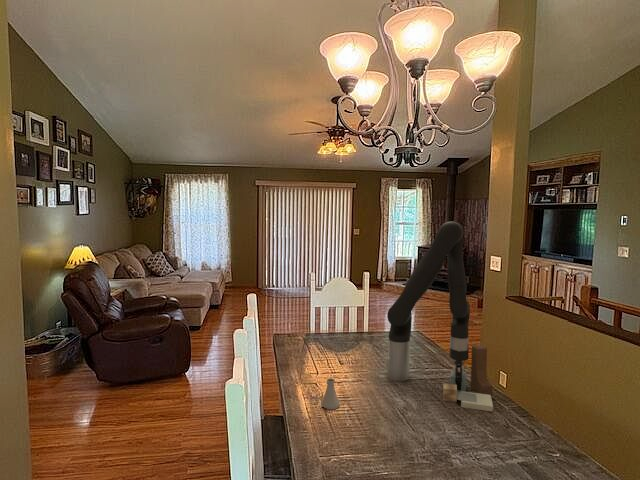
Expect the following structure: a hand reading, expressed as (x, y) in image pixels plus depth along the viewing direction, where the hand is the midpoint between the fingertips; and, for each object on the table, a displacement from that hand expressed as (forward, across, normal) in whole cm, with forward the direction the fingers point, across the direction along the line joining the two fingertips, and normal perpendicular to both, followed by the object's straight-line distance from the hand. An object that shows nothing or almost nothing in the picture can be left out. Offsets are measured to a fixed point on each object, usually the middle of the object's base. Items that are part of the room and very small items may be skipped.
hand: (458, 386), depth 167 cm
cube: (+1, 0, 0) cm, 1 cm away
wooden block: (+1, 0, +9) cm, 9 cm away
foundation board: (+1, +12, +6) cm, 14 cm away
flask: (+1, +32, -46) cm, 56 cm away
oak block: (+1, +11, -3) cm, 11 cm away
